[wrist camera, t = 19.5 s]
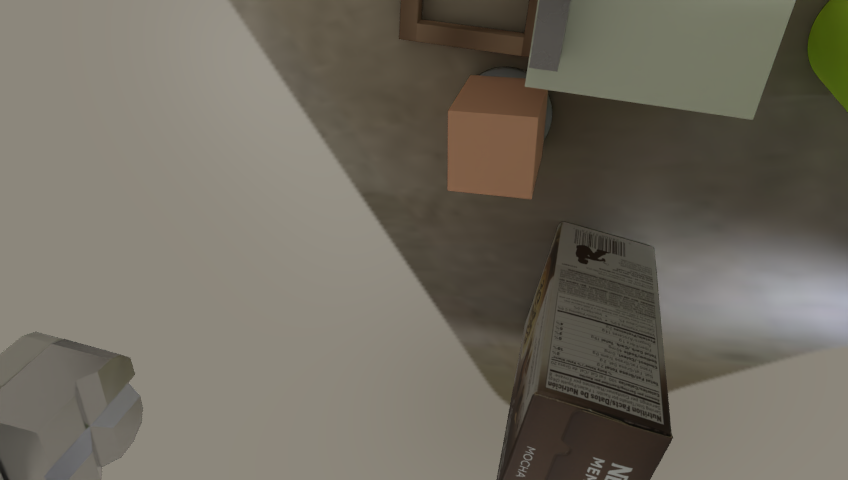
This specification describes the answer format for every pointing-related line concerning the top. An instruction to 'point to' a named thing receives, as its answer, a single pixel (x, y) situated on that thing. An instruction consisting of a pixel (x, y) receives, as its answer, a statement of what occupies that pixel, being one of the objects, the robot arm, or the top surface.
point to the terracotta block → (496, 137)
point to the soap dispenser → (831, 48)
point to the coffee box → (590, 366)
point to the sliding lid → (659, 51)
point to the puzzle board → (465, 32)
